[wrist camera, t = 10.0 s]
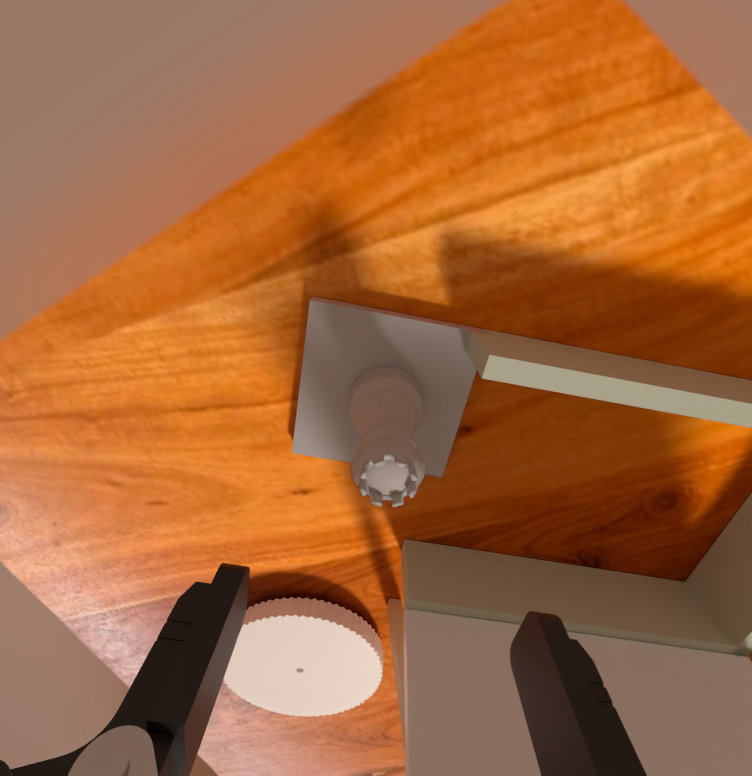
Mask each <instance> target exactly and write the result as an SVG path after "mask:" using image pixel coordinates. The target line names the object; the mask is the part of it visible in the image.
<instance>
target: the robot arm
mask: <svg viewBox="0 0 752 776" xmlns="http://www.w3.org/2000/svg"><path fill="white" fill-rule="evenodd" d="M249 573H250V568H249V567H246V566H240V565H233V564H226V563H222V564H221V565H220V567H219V569H218V571H217V573H216V575H215V577H214V579H213V581H212V583H211V584H208V583H202V582H195V583H194V584H193V585H192V586H191V587H190V588H189V589H188V590H187V591H186V592H185V593H184V594H183V595H182V596H181V597H179V599H178V600H177V602H176V604H175V606H174V608H173V610H172V612H171V613H170V615H169V617H168V619H167V622H166V623H165V624H164V626H163V628H162V630H161V632H160V634H159V636H158V639H157V641H155V643H154V645H153V647H152V648H151V650H150V652H149V654H148V656H147V658H146V660H145V661H144V663H143V665H142V667H141V669H140V671H139V672H138V674H137V676H136V678H135V680H134V682H133V683H132V685H131V687H130V689H129V691H128V693H127V695H126V696H125V698H124V700H123V702H122V704H121V706H120V707H119V709H118V711H117V713H116V714H115V716H114V718H113V719H112V720H111V721H110V723H109V724H108V725H107V726H106V727H105V728H104V729H103V731H102V732H101V733H99V734H98V735H97V736H96V737H95V738H94V739H93V740H91V741H90V742H89V743H87V744H86V745H84V746H82V747H81V748H79V749H77V750H76V751H74V752H71V753H69V754H67V755H63V756H60V757H57V758H53V759H49V760H46V761H42V762H38V763H35V764H30V765H27V766H22V767H19V768H15V769H11V770H10V769H9V767H8V765H7V764H6V763H5V762H3V761H1V760H0V776H189V775H190V773H191V770H192V767H193V764H194V761H195V758H196V755H197V753H198V750H199V747H200V744H201V741H202V738H203V736H204V733H205V730H206V727H207V724H208V721H209V718H210V716H211V713H212V710H213V707H214V704H215V701H216V698H217V696H218V693H219V690H220V687H221V684H222V681H223V679H224V676H225V673H226V670H227V667H228V664H229V661H230V659H231V656H232V653H233V650H234V647H235V644H236V641H237V639H238V636H239V633H240V630H241V627H242V624H243V621H244V617H245V613H246V608H247V600H248V587H249ZM510 663H511V668H512V672H513V676H514V679H515V683H516V686H517V690H518V694H519V697H520V701H521V704H522V708H523V712H524V715H525V719H526V722H527V726H528V730H529V733H530V737H531V740H532V744H533V748H534V751H535V755H536V758H537V762H538V766H539V769H540V773H541V776H647V775H646V773H645V770H644V768H643V766H642V764H641V762H640V760H639V758H638V755H637V753H636V751H635V749H634V747H633V745H632V743H631V740H630V738H629V736H628V734H627V732H626V730H625V728H624V725H623V723H622V721H621V719H620V717H619V715H618V713H617V710H616V708H615V707H613V705H612V700H611V698H610V695H609V693H608V691H607V689H606V688H605V687H604V685H603V684H604V683H603V680H602V678H601V676H600V674H599V672H598V670H597V668H596V665H595V663H594V661H593V660H592V658H591V657H590V656H589V654H588V653H587V652H586V651H585V649H584V648H583V647H582V646H581V644H580V643H579V642H578V640H576V639H570V638H569V636H568V633H567V631H566V629H565V627H564V624H563V622H562V620H561V619H560V618H559V617H558V616H557V615H554V614H547V613H541V612H534V611H529V612H528V613H527V614H526V616H525V618H524V620H523V622H522V624H521V626H520V628H519V630H518V631H517V633H516V635H515V637H514V639H513V641H512V643H511V648H510Z"/></svg>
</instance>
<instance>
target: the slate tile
mask: <svg viewBox="0 0 752 776" xmlns="http://www.w3.org/2000/svg"><path fill="white" fill-rule="evenodd" d="M471 331H475V332H481V333H486V334H488V333H487V332H486V331H485V330H484V329H481V328H476V327H471V326H465V325H460V324H455V323H450V322H445V321H439V320H434V319H429V318H424V317H418V316H413V315H408V314H403V313H398V312H392V311H387V310H382V309H377V308H371V307H366V306H361V305H356V304H351V303H345V302H340V301H335V300H330V299H325V298H319V297H314V296H313V297H312V298H311V299H310V302H309V310H308V319H307V327H306V336H305V344H304V353H303V361H302V370H301V378H300V387H299V395H298V404H297V413H296V421H295V430H294V438H293V447H292V453H296V454H302V455H308V456H314V457H320V458H326V459H332V460H338V461H344V462H350V463H351V461H352V459H353V457H354V455H355V453H356V451H357V450H358V443H359V441H360V439H361V437H362V434H360V432H358V431H357V430H356V428H355V426H354V424H353V422H352V420H351V418H350V415H349V393H350V391H351V389H352V387H353V385H354V383H355V381H357V380H358V379H359V378H360V377H361V376H362V375H363V374H365V373H366V372H368V371H371V370H374V369H377V368H380V367H384V368H397V369H399V370H402V371H404V372H406V373H409V374H410V375H411V376H412V377H413V378H414V379H415V380H416V381H417V382H418V383H419V384H420V387H421V390H422V393H423V395H424V413H423V419H422V421H421V422H420V424H419V426H418V428H417V429H416V431H415V432H414V433H413V434H412V436H413V437H414V439H415V441H416V444H417V450H418V451H419V452H420V453H421V454H422V457H423V459H424V462H425V465H426V466H425V475H429V476H435V477H443V474H444V471H445V468H446V465H447V461H448V458H449V455H450V452H451V449H452V446H453V443H454V440H455V437H456V433H457V430H458V427H459V424H460V421H461V418H462V415H463V412H464V408H465V405H466V402H467V399H468V396H469V393H470V390H471V387H472V384H473V380H474V377H475V374H476V371H477V370H476V368H475V367H474V365H473V363H472V362H471V360H470V358H469V357H468V355H467V353H466V352H465V349H466V346H467V342H468V339H469V336H470V332H471Z"/></svg>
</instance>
